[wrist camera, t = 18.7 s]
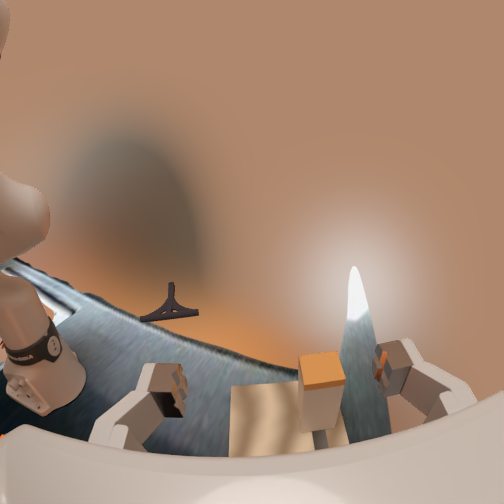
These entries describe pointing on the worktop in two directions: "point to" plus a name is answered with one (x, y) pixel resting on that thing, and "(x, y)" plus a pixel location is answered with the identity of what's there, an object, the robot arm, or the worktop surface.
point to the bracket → (170, 309)
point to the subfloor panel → (274, 423)
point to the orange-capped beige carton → (319, 390)
